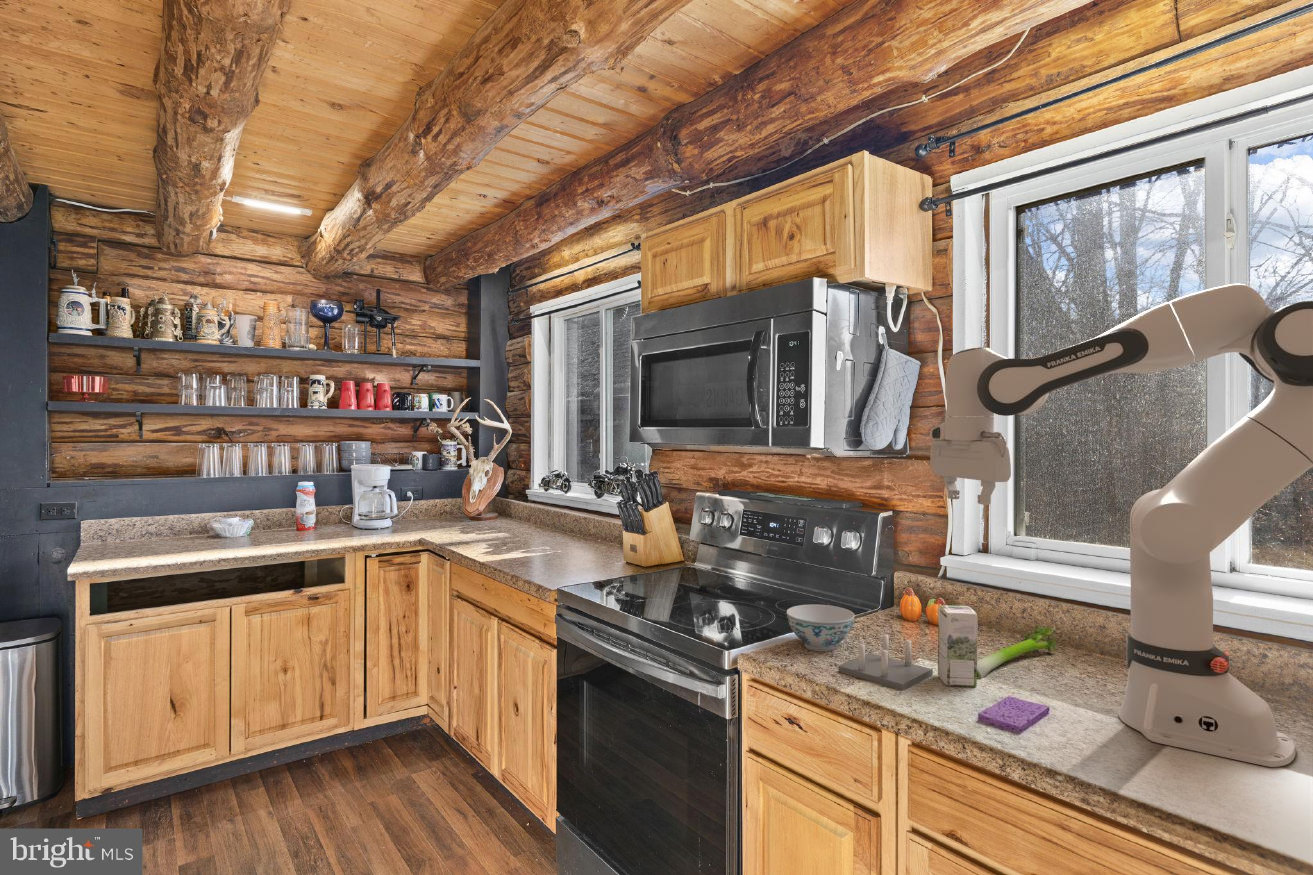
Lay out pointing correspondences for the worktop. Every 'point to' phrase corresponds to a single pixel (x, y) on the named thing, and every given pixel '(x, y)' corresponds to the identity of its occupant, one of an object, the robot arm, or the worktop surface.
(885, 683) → the pin tray
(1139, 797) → the worktop surface
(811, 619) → the chinaware
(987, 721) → the sponges
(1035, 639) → the leek
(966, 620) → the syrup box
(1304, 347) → the robot arm
